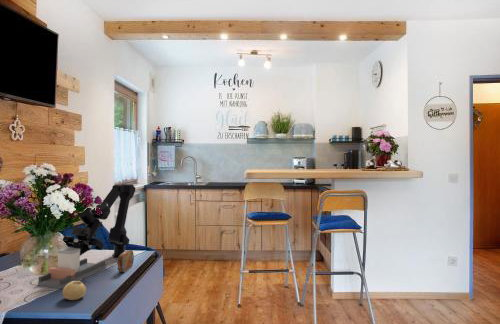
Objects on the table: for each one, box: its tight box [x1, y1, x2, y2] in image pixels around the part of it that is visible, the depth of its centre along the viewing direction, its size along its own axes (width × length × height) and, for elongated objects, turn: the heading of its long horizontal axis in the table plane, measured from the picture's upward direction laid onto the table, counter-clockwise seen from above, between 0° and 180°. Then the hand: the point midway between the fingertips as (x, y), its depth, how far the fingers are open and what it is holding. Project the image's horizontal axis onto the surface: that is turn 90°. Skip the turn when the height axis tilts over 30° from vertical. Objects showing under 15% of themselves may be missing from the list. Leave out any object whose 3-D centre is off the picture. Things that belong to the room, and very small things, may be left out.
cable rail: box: [37, 257, 107, 290], centre depth 157 cm, size 28×12×6 cm, turn 167°
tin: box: [116, 249, 135, 273], centre depth 168 cm, size 15×3×8 cm, turn 179°
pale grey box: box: [57, 246, 81, 273], centre depth 153 cm, size 5×7×11 cm
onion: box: [61, 279, 87, 301], centre depth 133 cm, size 8×8×7 cm
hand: (73, 259), depth 156 cm, fingers closed, pressing on pale grey box
